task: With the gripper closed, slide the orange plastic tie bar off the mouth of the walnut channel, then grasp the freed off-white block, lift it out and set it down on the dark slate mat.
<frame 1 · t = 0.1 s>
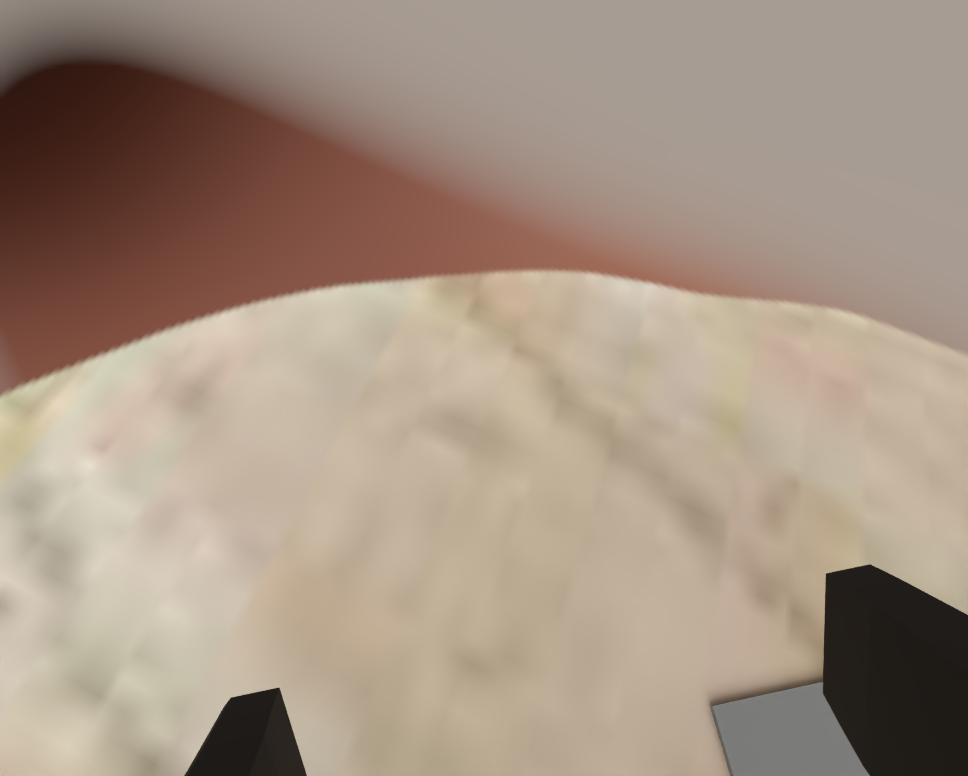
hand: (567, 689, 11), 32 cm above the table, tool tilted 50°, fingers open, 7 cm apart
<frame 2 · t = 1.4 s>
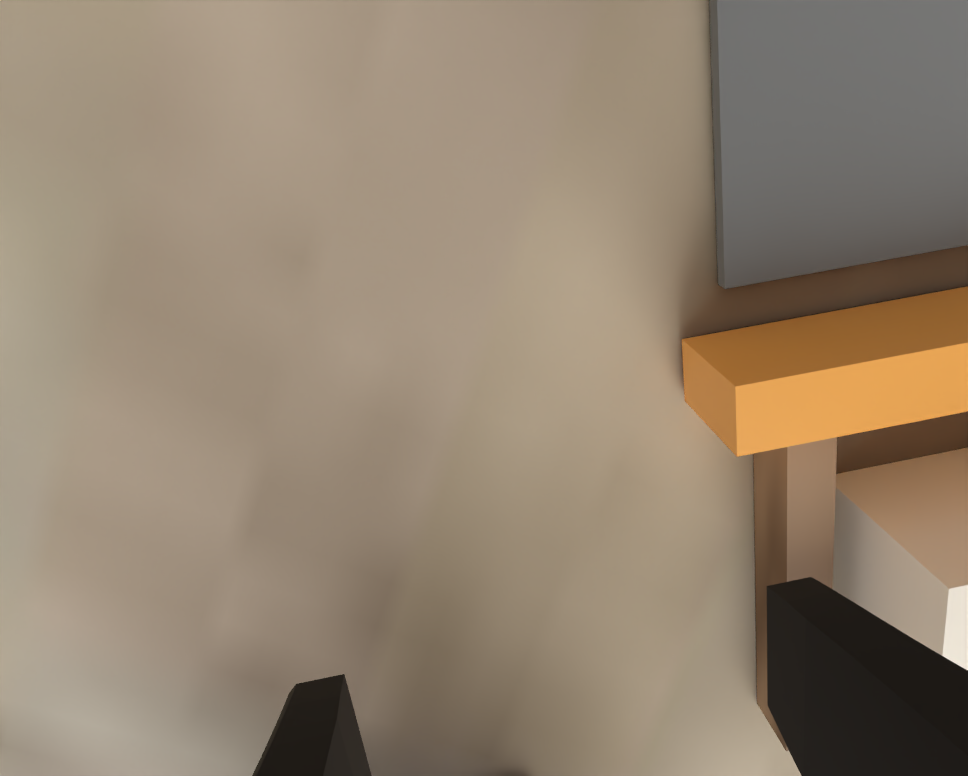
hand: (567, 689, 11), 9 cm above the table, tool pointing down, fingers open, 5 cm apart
walnut channel: (901, 532, 22), on the table
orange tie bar: (962, 345, 18), point 2 cm above the table, slide at 0.0 cm
slate mat: (937, 17, 17), on the table
white block: (899, 530, 22), on the table
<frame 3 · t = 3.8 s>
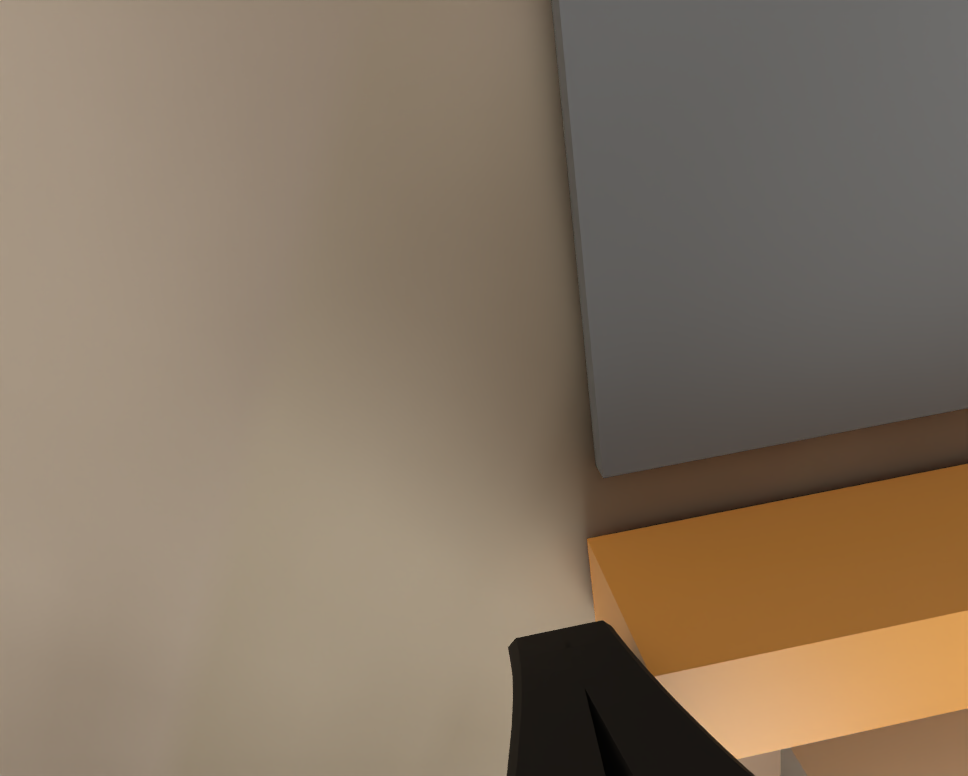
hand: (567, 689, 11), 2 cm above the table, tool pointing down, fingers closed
slate mat: (940, 54, 11), on the table
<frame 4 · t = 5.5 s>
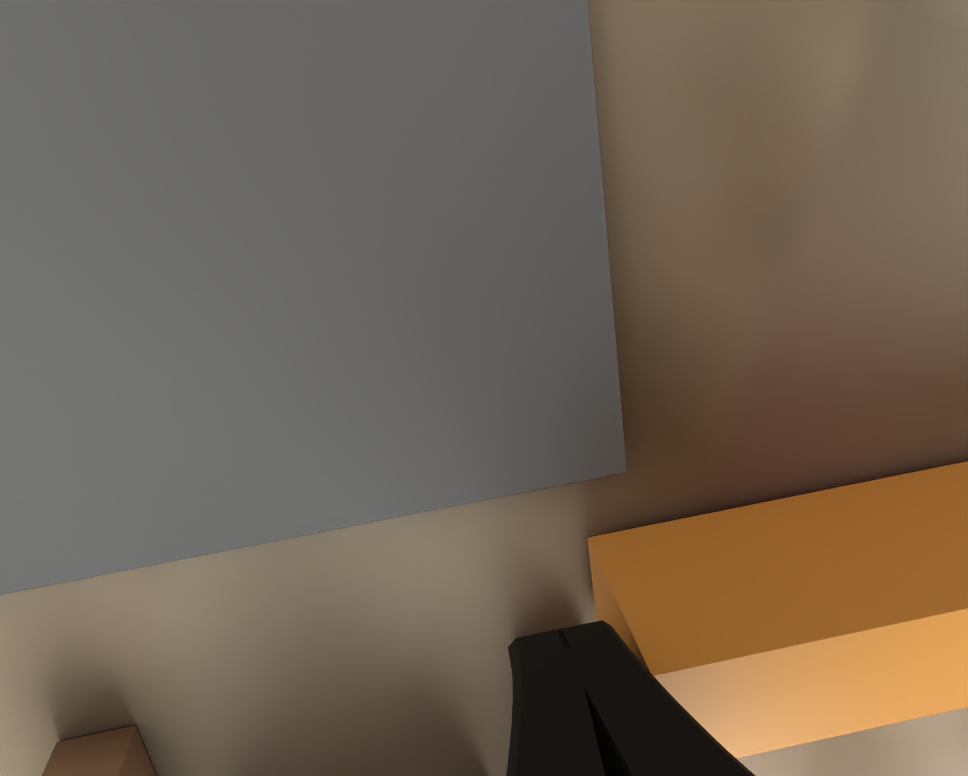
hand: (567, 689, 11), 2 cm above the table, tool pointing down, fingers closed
slate mat: (183, 173, 10), on the table
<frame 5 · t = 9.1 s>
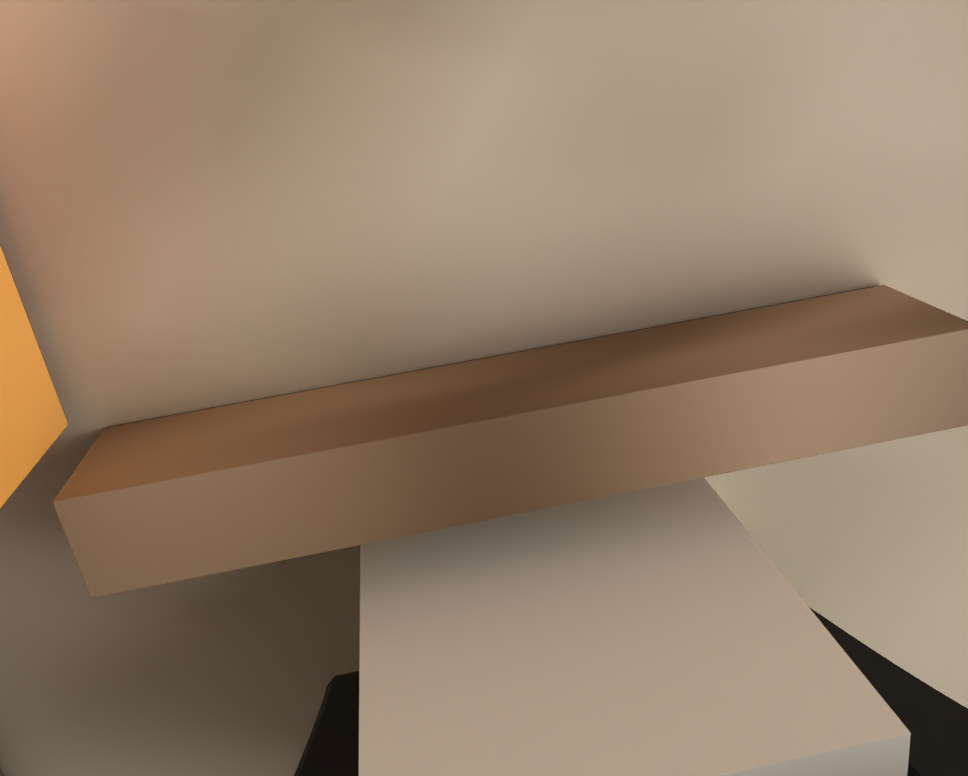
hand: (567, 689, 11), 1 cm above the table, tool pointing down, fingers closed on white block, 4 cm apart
walnut channel: (545, 621, 12), on the table
white block: (544, 620, 12), on the table, touching gripper
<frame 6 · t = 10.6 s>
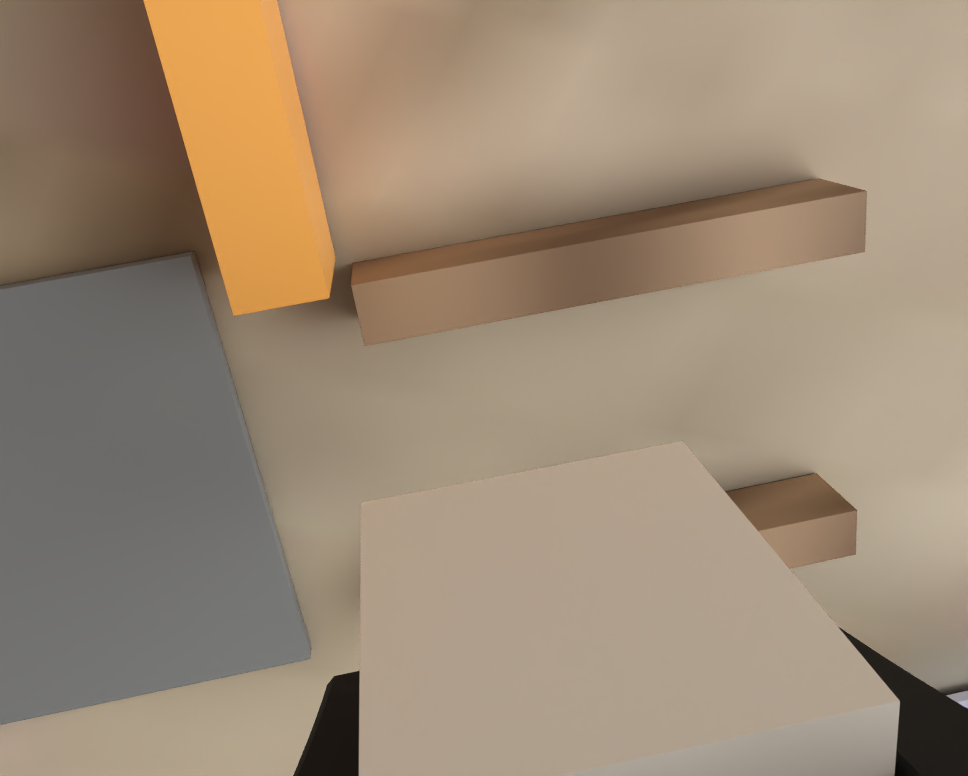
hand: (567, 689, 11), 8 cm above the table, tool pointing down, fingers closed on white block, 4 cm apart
walnut channel: (608, 402, 19), on the table
slate mat: (30, 515, 18), on the table
white block: (542, 604, 12), point 7 cm above the table, touching gripper
when the fingers open (3 cm above the table, at t = 12.6 s): white block drops 1 cm, resting on slate mat.
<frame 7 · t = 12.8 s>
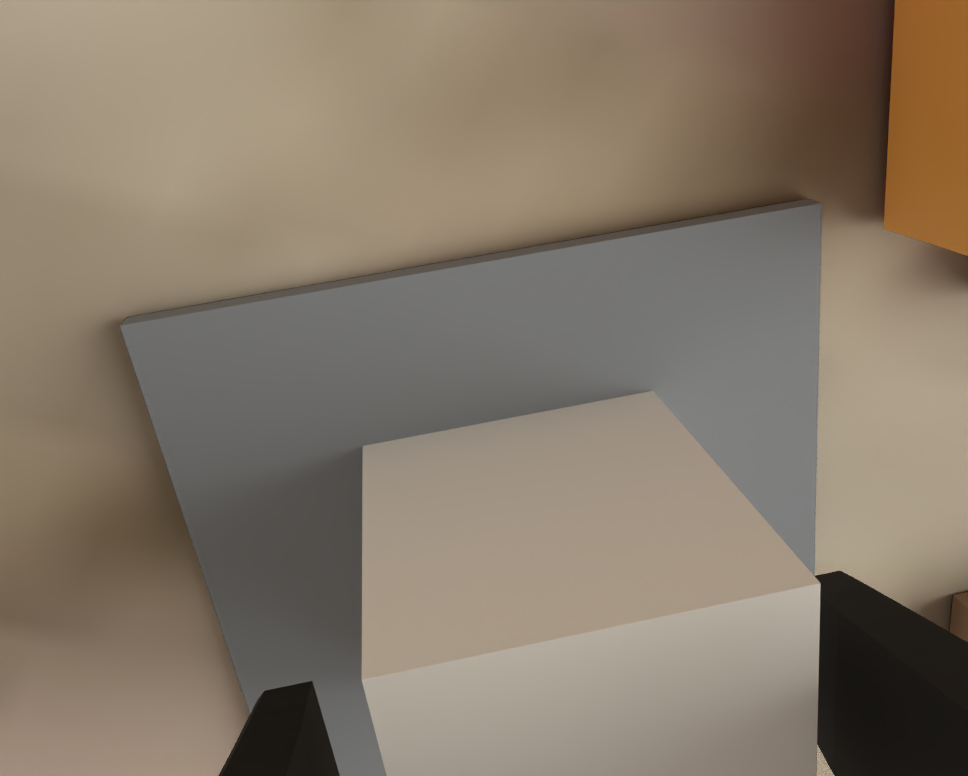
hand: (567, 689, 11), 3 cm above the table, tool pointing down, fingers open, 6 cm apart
slate mat: (520, 545, 14), on the table
white block: (527, 542, 13), resting on slate mat
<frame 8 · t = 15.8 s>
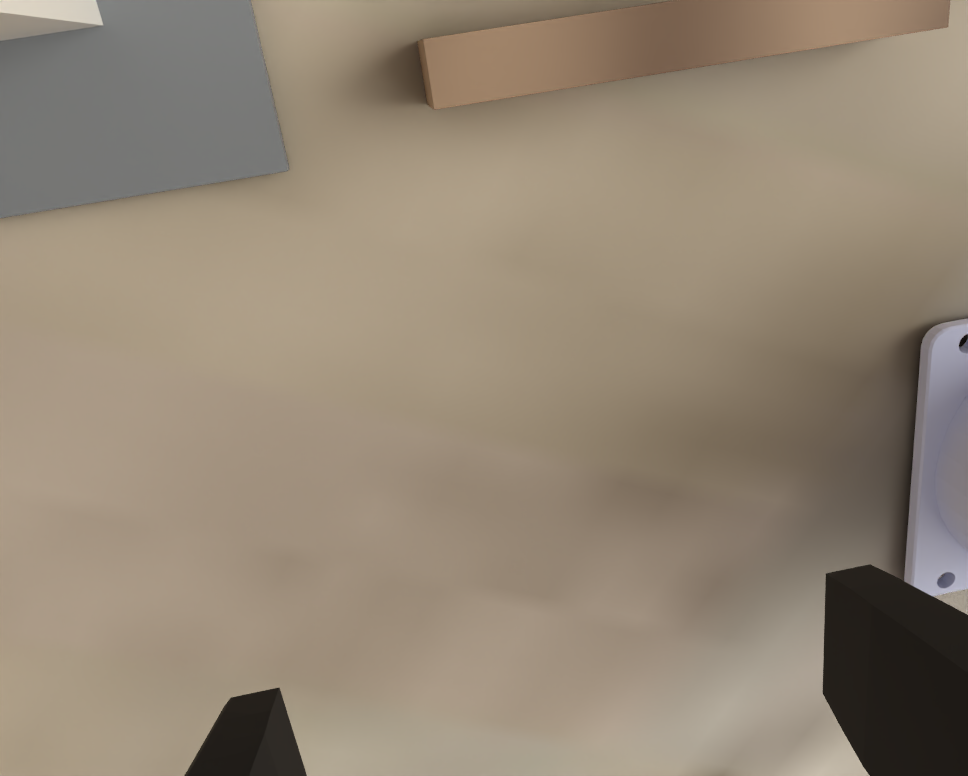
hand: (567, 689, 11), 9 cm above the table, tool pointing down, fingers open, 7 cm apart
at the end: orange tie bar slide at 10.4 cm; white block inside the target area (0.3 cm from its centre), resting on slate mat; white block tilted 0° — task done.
